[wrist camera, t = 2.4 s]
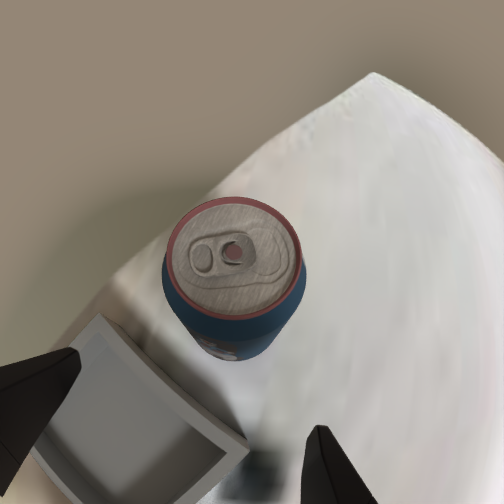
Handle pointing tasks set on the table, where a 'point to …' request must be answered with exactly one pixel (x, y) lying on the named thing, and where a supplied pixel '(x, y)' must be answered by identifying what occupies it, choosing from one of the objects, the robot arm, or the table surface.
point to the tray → (132, 430)
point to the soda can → (234, 275)
